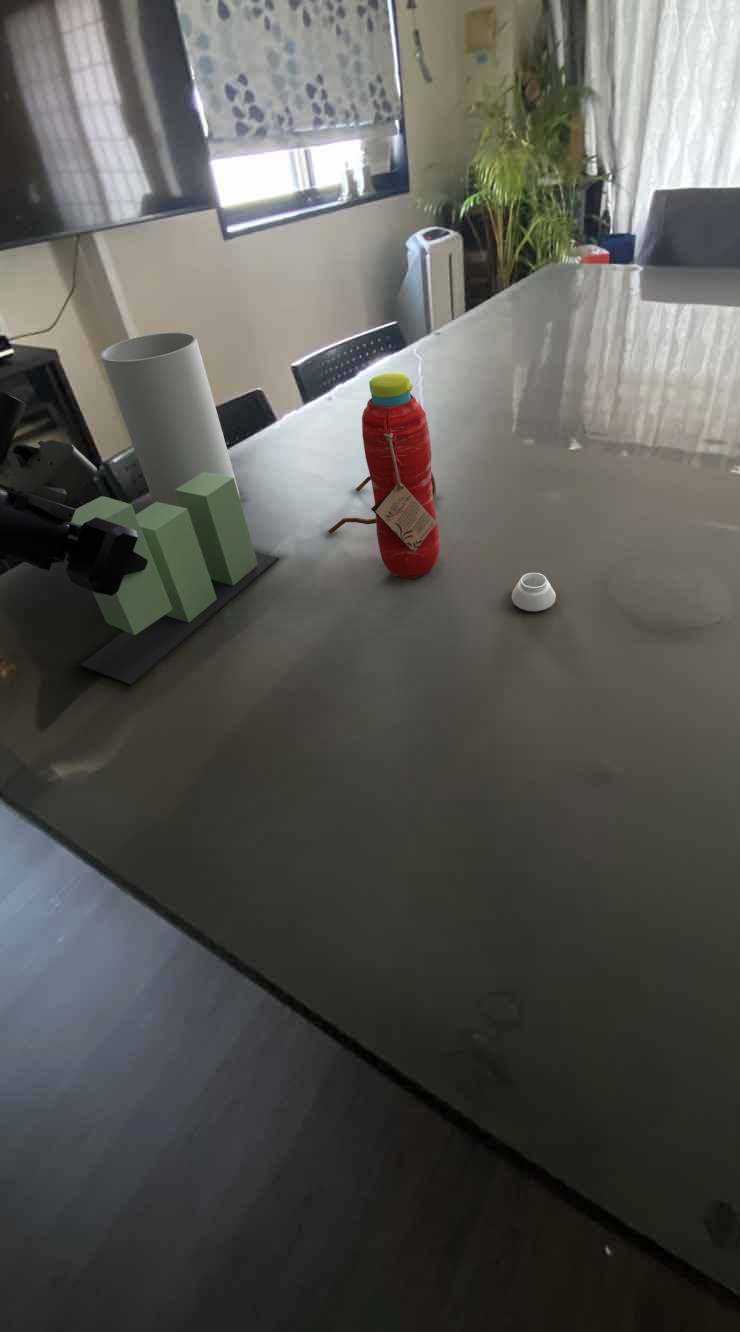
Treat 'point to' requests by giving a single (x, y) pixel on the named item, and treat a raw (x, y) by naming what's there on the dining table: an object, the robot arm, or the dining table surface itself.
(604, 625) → the dining table surface
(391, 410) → the water bottle
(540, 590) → the white jar
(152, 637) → the mat
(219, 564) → the far block
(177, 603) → the middle block
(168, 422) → the cylinder vase
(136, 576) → the block
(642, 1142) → the dining table surface
